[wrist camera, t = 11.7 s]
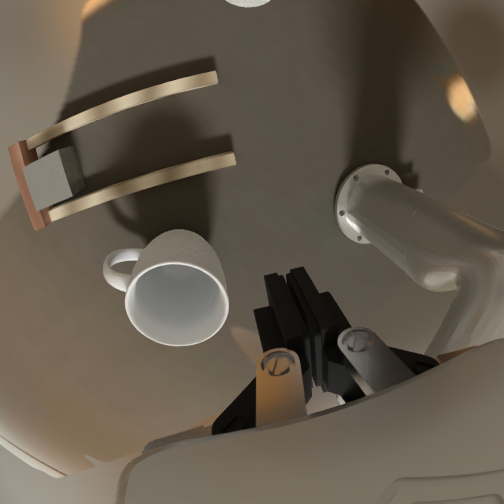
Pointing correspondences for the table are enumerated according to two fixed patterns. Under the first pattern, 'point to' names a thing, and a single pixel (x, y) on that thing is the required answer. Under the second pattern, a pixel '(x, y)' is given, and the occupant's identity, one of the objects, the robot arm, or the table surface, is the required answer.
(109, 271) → the mug
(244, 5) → the cup
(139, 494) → the robot arm
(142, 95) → the u-shaped frame
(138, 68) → the table surface
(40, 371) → the table surface
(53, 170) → the block
